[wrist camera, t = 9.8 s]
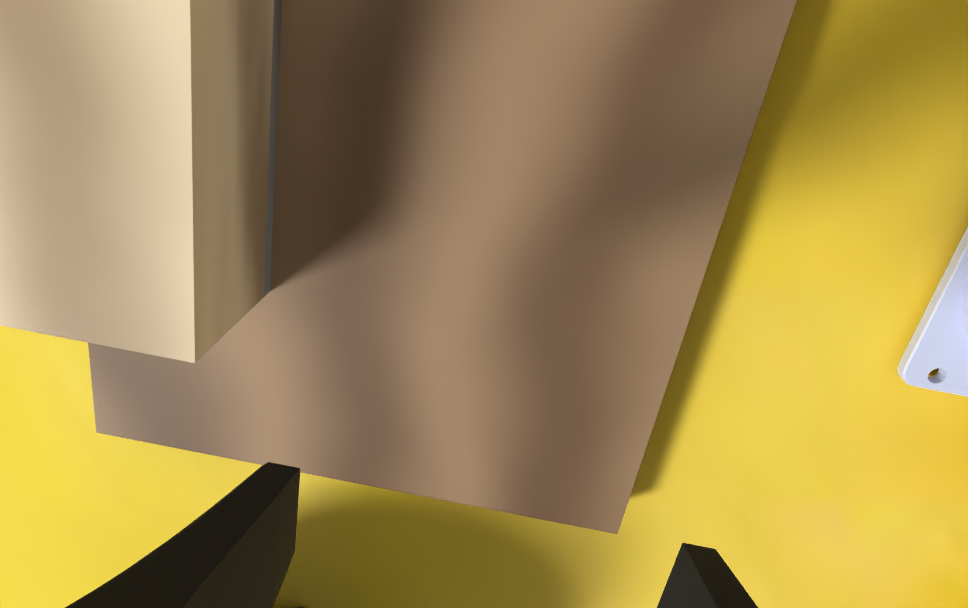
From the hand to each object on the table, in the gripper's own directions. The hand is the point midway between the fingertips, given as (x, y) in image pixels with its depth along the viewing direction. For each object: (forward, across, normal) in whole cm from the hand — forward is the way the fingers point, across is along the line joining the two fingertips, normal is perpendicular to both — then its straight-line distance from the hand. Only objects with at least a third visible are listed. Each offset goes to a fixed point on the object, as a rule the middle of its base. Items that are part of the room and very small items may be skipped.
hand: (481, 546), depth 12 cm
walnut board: (+9, +4, -5) cm, 11 cm away
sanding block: (+8, +10, -5) cm, 14 cm away
